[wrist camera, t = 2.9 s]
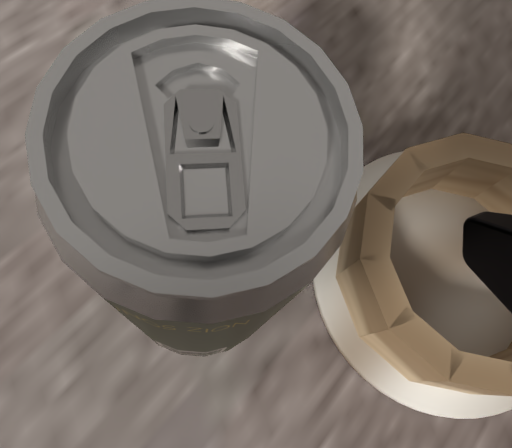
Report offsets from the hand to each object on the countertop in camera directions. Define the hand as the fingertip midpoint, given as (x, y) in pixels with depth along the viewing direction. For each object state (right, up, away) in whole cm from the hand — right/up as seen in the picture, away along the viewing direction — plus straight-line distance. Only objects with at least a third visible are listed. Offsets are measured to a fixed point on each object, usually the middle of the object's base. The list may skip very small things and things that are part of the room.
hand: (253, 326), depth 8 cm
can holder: (+8, 0, +11) cm, 14 cm away
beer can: (-2, -1, +10) cm, 11 cm away
